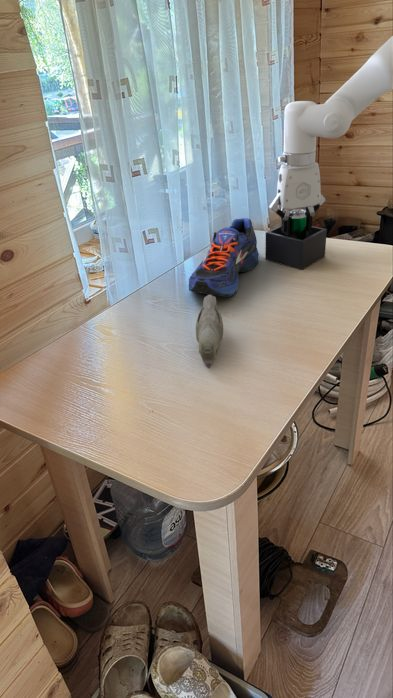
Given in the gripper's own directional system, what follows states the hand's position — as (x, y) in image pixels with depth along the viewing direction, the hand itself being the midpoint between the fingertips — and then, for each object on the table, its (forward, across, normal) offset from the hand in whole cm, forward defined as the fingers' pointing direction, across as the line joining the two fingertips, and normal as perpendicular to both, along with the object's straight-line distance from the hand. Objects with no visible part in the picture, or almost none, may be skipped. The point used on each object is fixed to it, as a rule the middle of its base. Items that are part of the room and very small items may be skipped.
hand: (296, 231), depth 132 cm
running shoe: (+8, -22, -5) cm, 23 cm away
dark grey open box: (+7, 0, 0) cm, 7 cm away
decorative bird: (+8, -34, -33) cm, 48 cm away
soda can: (+7, 0, 0) cm, 7 cm away
